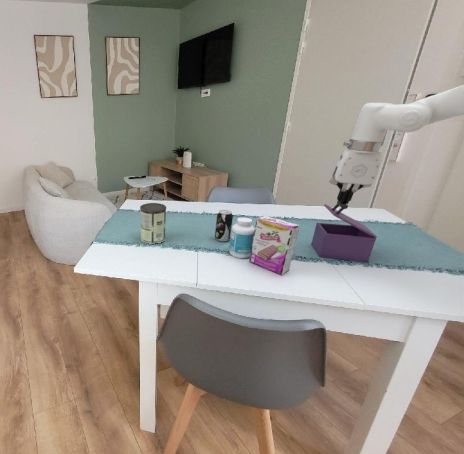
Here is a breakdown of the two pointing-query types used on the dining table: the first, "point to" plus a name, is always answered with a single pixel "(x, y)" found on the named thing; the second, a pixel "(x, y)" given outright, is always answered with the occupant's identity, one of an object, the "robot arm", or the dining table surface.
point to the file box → (342, 242)
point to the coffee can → (152, 222)
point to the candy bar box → (273, 244)
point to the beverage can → (223, 225)
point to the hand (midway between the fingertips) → (342, 202)
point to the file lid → (347, 218)
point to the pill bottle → (242, 238)
